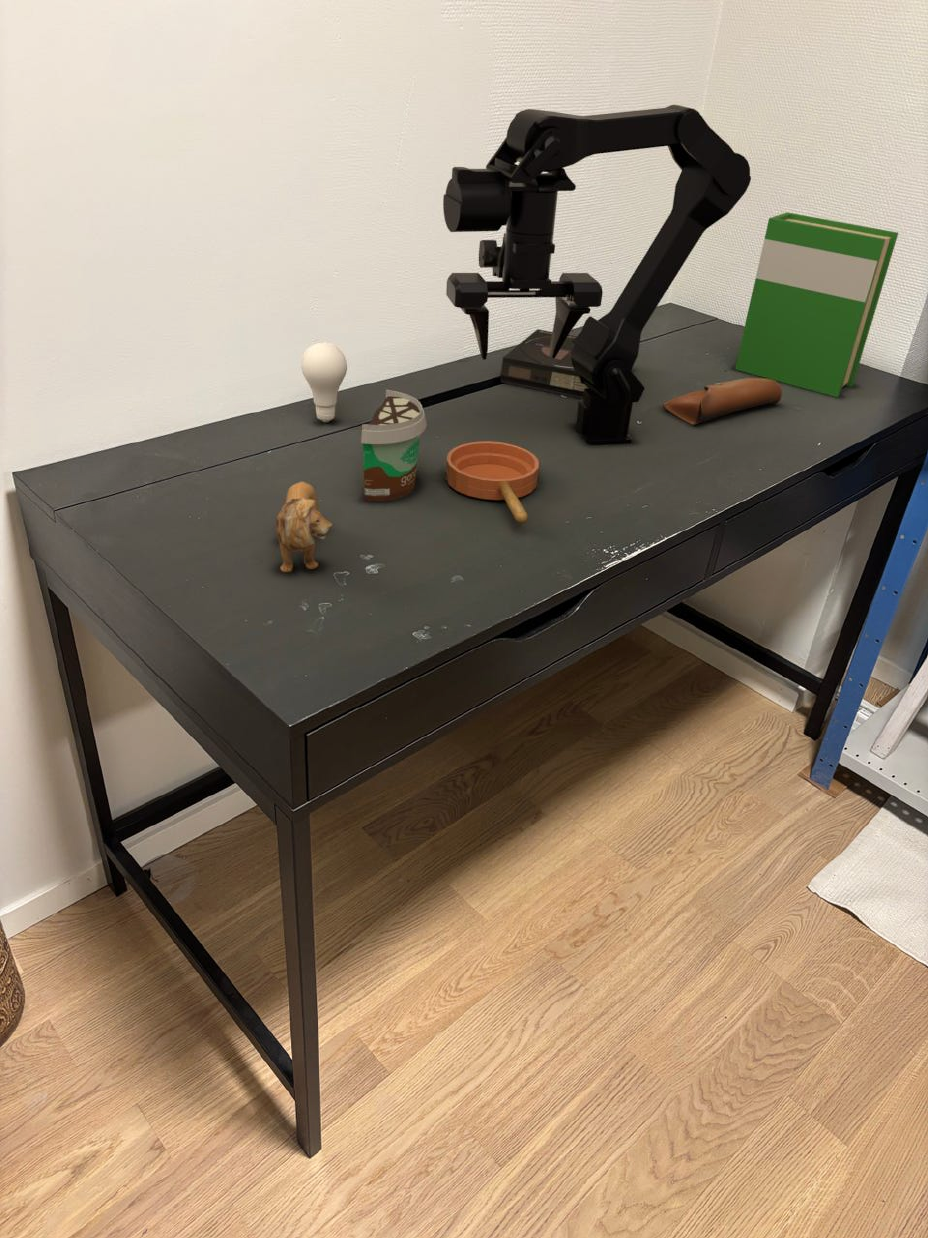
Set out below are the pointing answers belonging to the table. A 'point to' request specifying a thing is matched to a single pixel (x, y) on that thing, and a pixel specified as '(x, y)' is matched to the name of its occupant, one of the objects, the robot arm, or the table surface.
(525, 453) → the pan
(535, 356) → the portable cd player
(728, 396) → the sunglasses case
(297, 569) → the table surface
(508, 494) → the pan handle
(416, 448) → the food container
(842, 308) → the hardback book
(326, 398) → the lightbulb
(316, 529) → the lion figurine
